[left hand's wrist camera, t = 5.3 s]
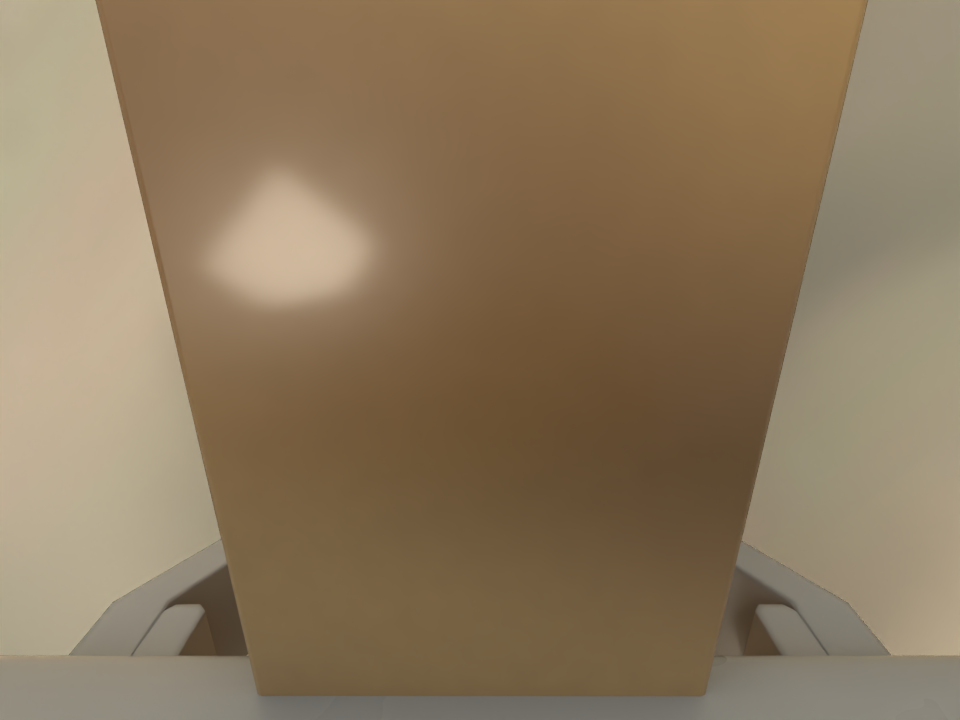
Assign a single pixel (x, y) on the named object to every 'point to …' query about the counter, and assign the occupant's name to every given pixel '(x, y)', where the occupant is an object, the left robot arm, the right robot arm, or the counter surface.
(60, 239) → the counter surface
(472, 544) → the post
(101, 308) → the counter surface
